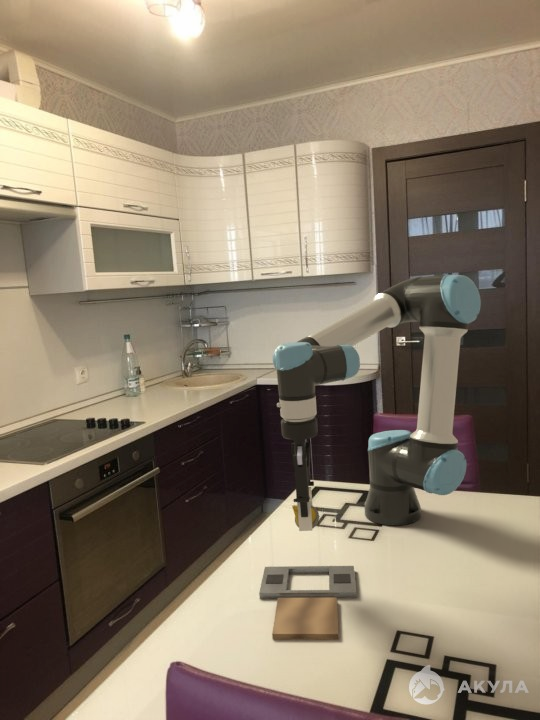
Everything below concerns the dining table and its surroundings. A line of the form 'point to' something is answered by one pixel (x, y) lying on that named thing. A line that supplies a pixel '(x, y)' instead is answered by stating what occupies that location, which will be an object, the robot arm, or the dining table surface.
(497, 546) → the dining table surface
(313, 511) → the yellow knob cap
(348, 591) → the grey rectangular frame
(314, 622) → the pad
